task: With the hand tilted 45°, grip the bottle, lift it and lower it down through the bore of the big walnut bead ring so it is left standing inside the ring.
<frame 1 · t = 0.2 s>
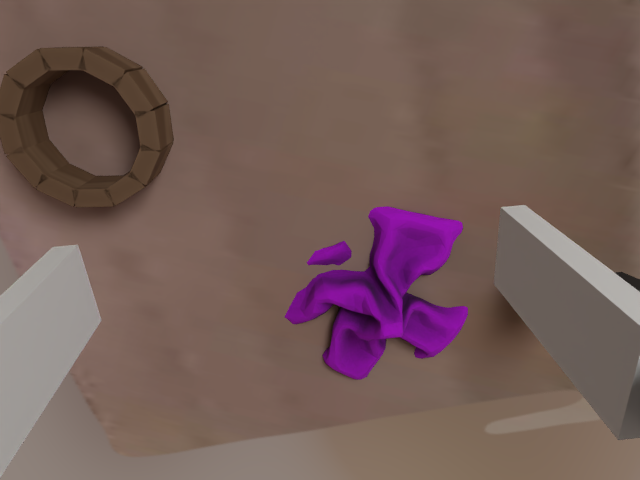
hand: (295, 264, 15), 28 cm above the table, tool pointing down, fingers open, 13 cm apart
cloth: (366, 297, 48), on the table
bead ring: (99, 123, 40), on the table
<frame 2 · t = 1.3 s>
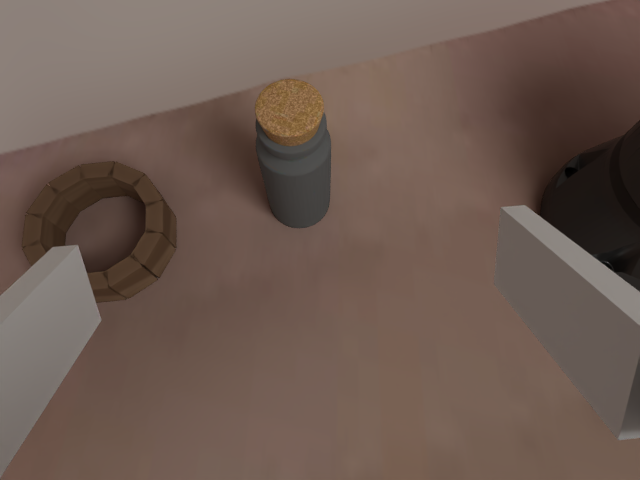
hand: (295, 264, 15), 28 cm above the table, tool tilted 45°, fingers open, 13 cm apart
bead ring: (112, 239, 45), on the table
bottle: (299, 202, 46), on the table
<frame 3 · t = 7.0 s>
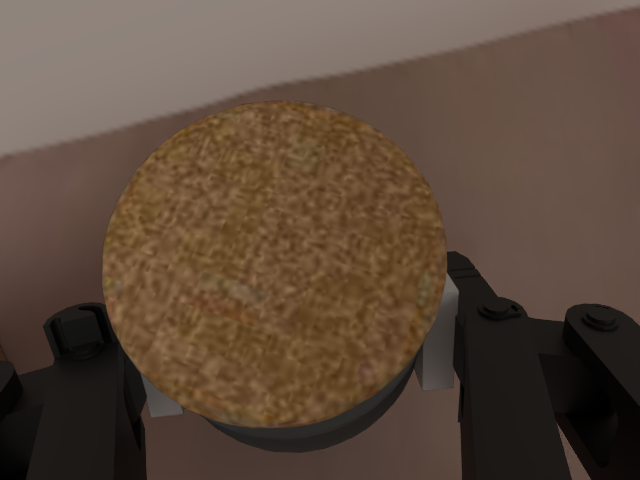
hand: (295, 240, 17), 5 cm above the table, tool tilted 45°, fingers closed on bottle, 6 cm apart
bottle: (308, 364, 21), on the table, touching gripper
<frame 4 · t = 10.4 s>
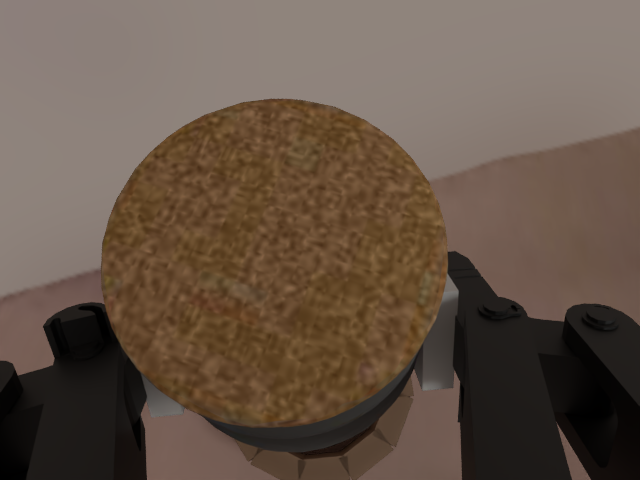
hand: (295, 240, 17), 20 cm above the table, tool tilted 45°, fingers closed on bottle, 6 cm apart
bead ring: (316, 384, 34), on the table
bottle: (308, 363, 21), point 14 cm above the table, touching gripper
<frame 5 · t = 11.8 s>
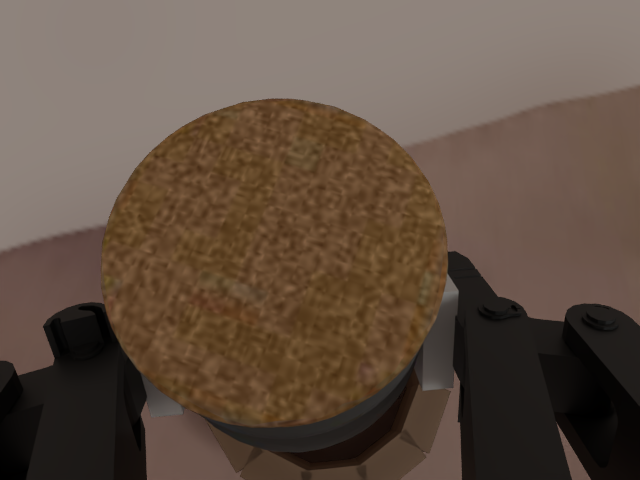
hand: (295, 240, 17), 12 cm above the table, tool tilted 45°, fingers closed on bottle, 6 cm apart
bead ring: (324, 374, 27), on the table
bottle: (308, 363, 21), point 7 cm above the table, touching gripper
when the fingers open (7 cm above the table, at t = 13.9 s): bottle drops 1 cm, resting in bead ring.
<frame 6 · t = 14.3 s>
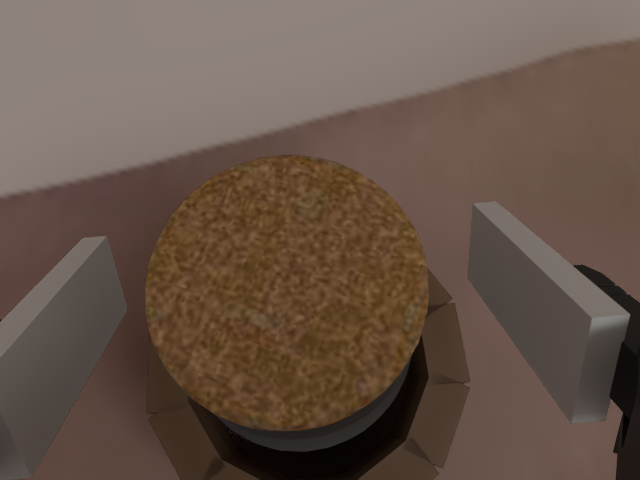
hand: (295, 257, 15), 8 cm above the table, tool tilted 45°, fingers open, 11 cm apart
bead ring: (309, 367, 22), on the table
bottle: (311, 369, 22), resting in bead ring
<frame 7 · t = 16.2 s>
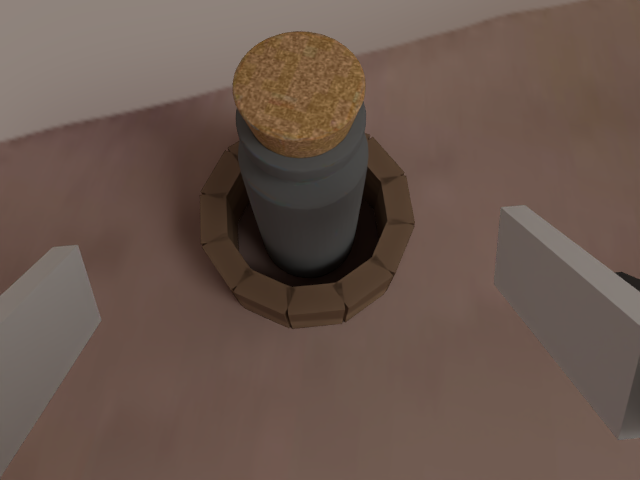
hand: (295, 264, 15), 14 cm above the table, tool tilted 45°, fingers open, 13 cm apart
bead ring: (307, 234, 31), on the table
bottle: (308, 236, 31), resting in bead ring
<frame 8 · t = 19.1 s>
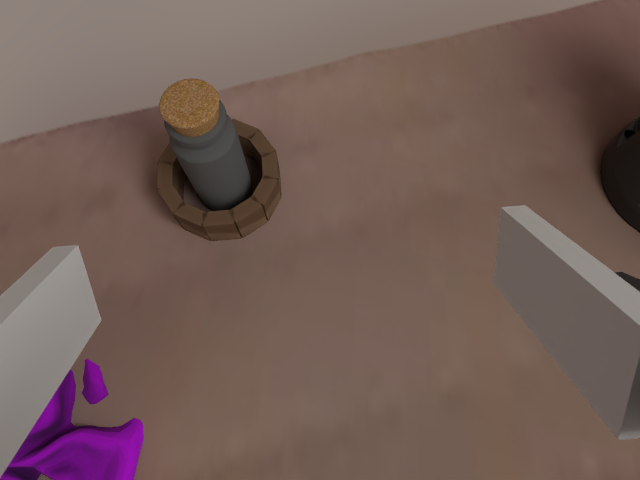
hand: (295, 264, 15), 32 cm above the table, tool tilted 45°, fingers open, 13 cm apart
cloth: (37, 429, 44), on the table
bead ring: (225, 188, 51), on the table
bottle: (226, 189, 52), resting in bead ring
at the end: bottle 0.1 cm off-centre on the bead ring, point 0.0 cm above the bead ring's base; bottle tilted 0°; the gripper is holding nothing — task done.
